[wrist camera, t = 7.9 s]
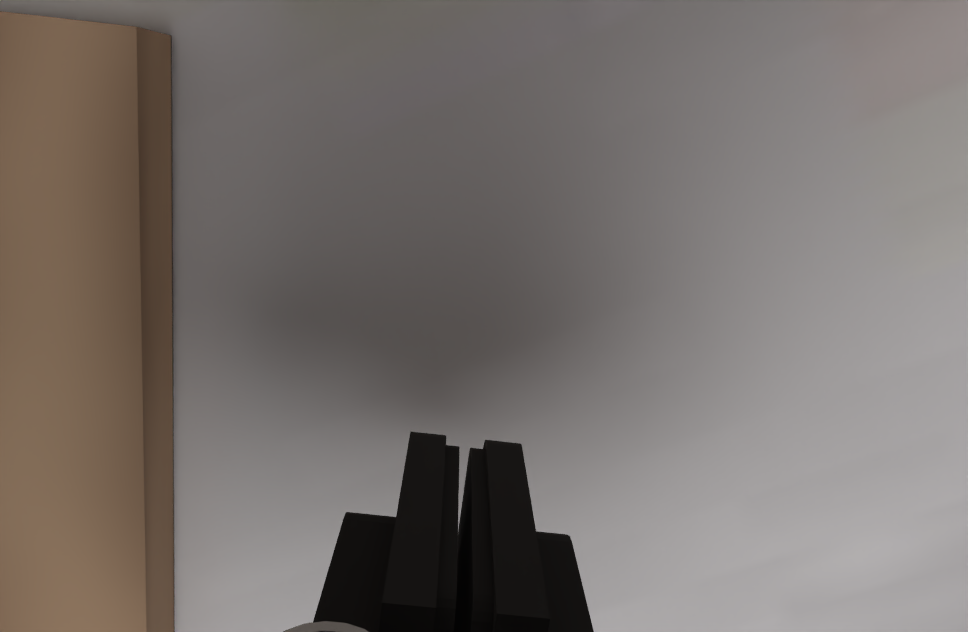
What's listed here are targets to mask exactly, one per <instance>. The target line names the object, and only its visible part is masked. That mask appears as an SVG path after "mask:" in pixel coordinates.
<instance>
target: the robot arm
mask: <svg viewBox="0 0 968 632" xmlns="http://www.w3.org/2000/svg"><path fill="white" fill-rule="evenodd" d="M458 493H459V447H458V446H448V445H446V436H445V435H436V434H427V433H418V432H411V433H410V438H409V444H408V450H407V456H406V462H405V468H404V474H403V480H402V486H401V492H400V498H399V504H398V510H397V516H396V517H389V516H380V515H370V514H360V513H350V512H347V513H346V514H345V516H344V519H343V522H342V526H341V529H340V533H339V536H338V539H337V543H336V546H335V550H334V553H333V556H332V560H331V563H330V567H329V570H328V573H327V577H326V580H325V584H324V587H323V590H322V594H321V597H320V601H319V604H318V607H317V611H316V614H315V618H314V621H313V623H306V624H302V625H299V626H296V627H294V628H291V629H288V630H285V631H283V632H594V631H593V627H592V623H591V619H590V615H589V611H588V607H587V603H586V598H585V594H584V590H583V586H582V582H581V578H580V574H579V570H578V565H577V561H576V557H575V553H574V549H573V545H572V541H571V539H570V536H568V535H565V534H556V533H546V532H536V529H535V523H534V517H533V511H532V505H531V499H530V493H529V487H528V481H527V475H526V469H525V462H524V456H523V450H522V445H521V444H518V443H509V442H500V441H491V440H485V442H484V447H483V449H476V448H470V452H469V458H468V465H467V472H466V480H465V487H464V494H463V502H462V509H461V516H460V523H459V531H458Z"/></svg>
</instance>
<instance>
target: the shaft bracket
mask: <svg viewBox="0 0 968 632" xmlns="http://www.w3.org/2000/svg"><path fill="white" fill-rule="evenodd" d="M0 632H174V538H173V347H172V156H171V36H170V35H166V34H162V33H158V32H155V31H151V30H147V29H143V28H139V27H134V26H125V25H116V24H107V23H98V22H90V21H81V20H72V19H63V18H55V17H46V16H37V15H28V14H19V13H11V12H2V11H0Z"/></svg>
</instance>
